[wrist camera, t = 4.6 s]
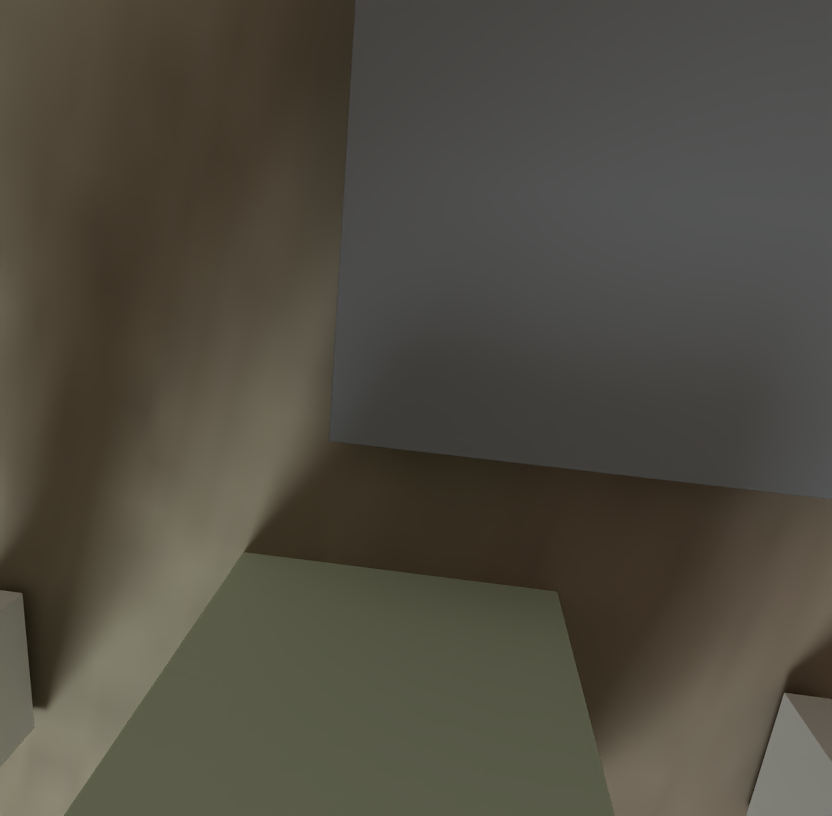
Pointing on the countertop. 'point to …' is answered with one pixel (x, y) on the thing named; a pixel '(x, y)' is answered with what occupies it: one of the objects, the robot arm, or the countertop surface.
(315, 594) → the sage block
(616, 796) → the countertop surface
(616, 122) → the board
